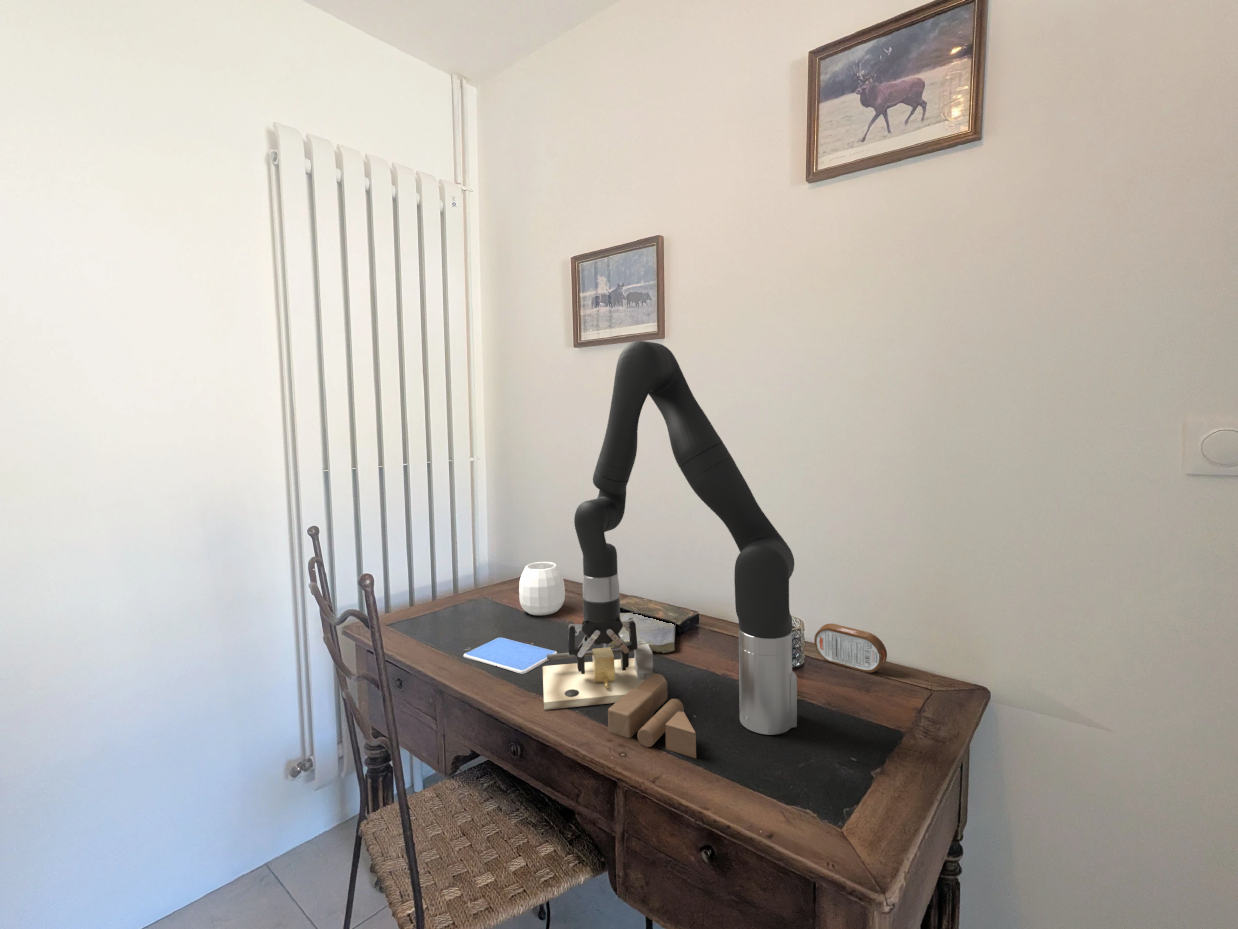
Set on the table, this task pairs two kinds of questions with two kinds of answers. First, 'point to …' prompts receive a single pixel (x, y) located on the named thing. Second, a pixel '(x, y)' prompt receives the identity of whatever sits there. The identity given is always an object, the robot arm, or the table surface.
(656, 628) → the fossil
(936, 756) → the table surface
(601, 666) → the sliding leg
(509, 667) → the tablet computer
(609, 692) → the cream panel
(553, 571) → the white faceted vase
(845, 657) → the tin
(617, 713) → the wooden block set
